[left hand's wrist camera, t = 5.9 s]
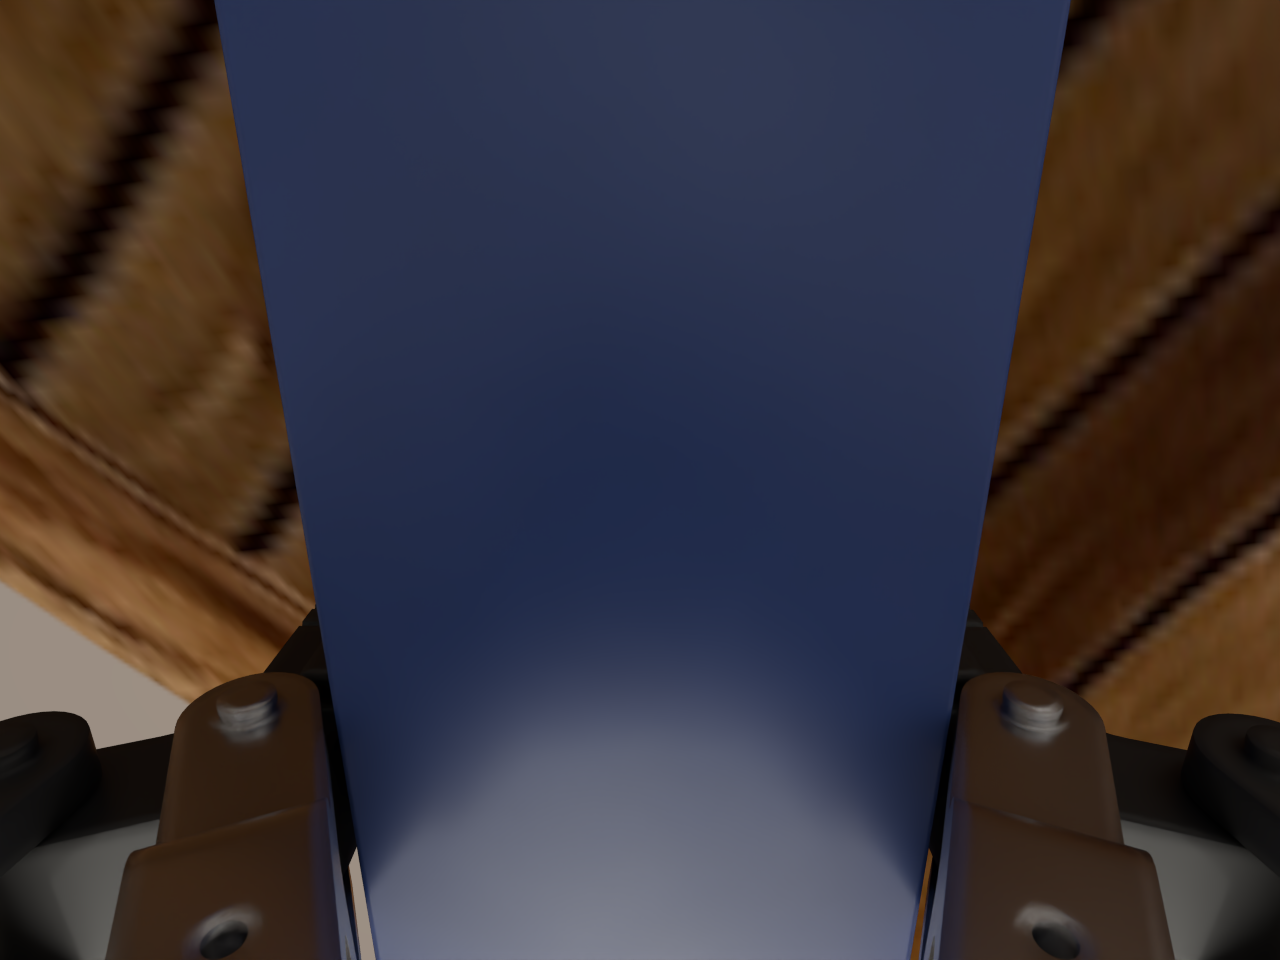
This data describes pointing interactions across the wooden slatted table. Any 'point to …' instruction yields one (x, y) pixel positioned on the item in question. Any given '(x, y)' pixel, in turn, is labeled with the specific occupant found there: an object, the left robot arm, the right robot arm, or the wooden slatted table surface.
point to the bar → (642, 442)
